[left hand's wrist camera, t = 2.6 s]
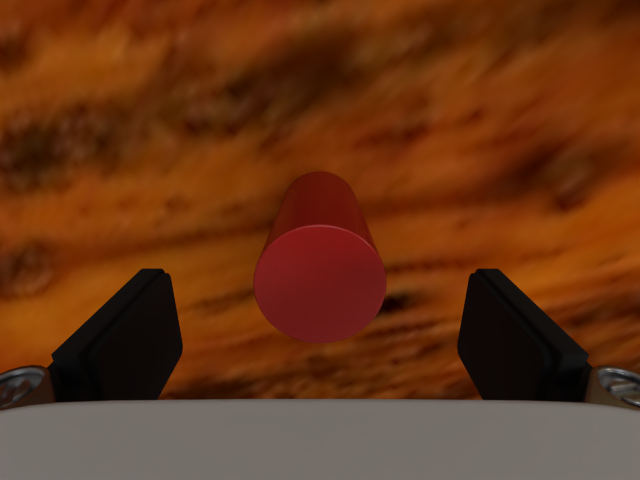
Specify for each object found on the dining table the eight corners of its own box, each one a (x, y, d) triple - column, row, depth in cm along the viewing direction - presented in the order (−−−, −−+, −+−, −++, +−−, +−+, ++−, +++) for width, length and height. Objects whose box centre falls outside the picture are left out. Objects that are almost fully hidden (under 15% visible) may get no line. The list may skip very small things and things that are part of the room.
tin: (369, 191, 25) (411, 259, 13) (336, 253, 26) (348, 360, 15) (301, 158, 24) (285, 200, 13) (271, 224, 25) (233, 315, 14)
